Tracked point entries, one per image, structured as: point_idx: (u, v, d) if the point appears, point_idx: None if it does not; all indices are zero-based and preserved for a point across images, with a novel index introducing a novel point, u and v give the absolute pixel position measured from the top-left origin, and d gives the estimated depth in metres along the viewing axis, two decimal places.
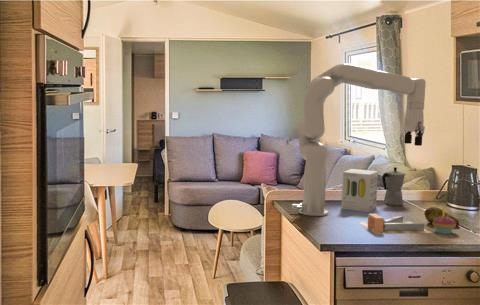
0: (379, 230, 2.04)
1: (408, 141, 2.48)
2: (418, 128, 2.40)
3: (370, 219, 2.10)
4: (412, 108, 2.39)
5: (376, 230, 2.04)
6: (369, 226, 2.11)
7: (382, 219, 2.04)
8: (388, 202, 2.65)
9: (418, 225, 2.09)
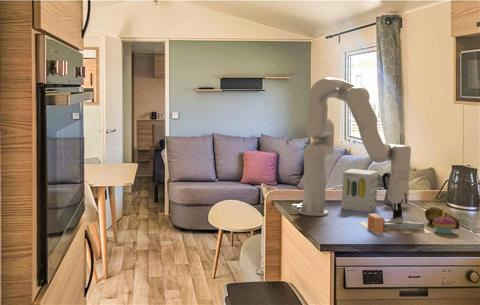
0: (379, 230, 2.04)
1: None
2: None
3: (370, 219, 2.10)
4: (396, 178, 2.19)
5: (376, 230, 2.04)
6: (369, 226, 2.11)
7: (382, 219, 2.04)
8: (388, 202, 2.65)
9: (418, 225, 2.09)
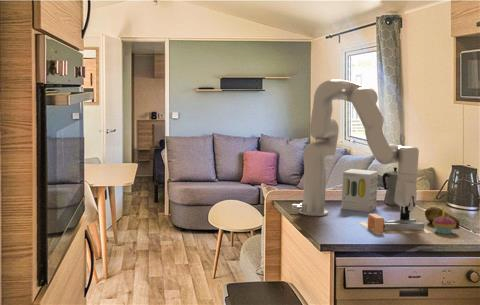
0: (379, 230, 2.04)
1: None
2: None
3: (370, 219, 2.10)
4: (404, 180, 2.13)
5: (376, 230, 2.04)
6: (369, 226, 2.11)
7: (382, 219, 2.04)
8: (388, 202, 2.65)
9: (418, 225, 2.09)
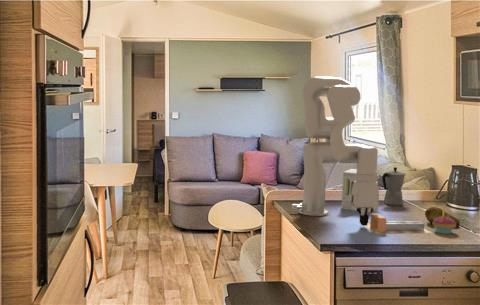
0: (382, 230, 2.05)
1: None
2: None
3: (373, 219, 2.11)
4: None
5: (379, 230, 2.04)
6: (372, 226, 2.11)
7: (385, 219, 2.04)
8: (388, 202, 2.65)
9: (418, 225, 2.09)
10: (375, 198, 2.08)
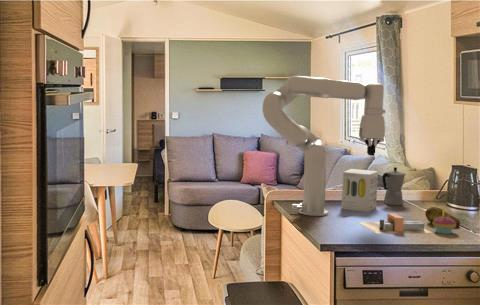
0: (399, 230, 2.06)
1: None
2: None
3: (390, 219, 2.12)
4: None
5: (396, 230, 2.06)
6: None
7: (402, 219, 2.05)
8: (388, 202, 2.65)
9: (418, 225, 2.09)
10: (381, 130, 2.30)
